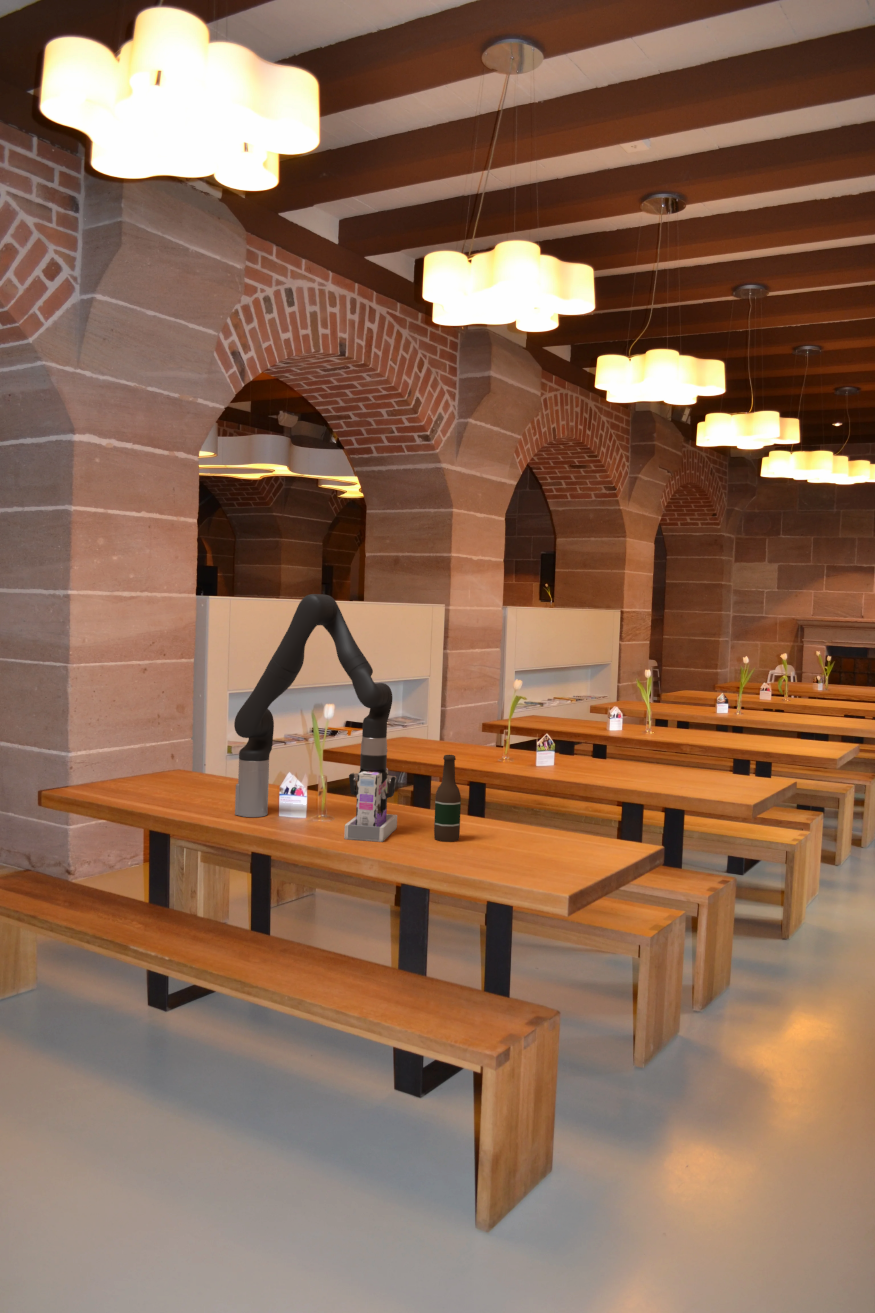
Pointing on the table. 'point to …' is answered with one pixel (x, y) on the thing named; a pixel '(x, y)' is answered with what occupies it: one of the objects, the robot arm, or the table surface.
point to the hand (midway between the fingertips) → (371, 810)
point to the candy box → (370, 799)
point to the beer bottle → (447, 804)
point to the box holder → (370, 830)
